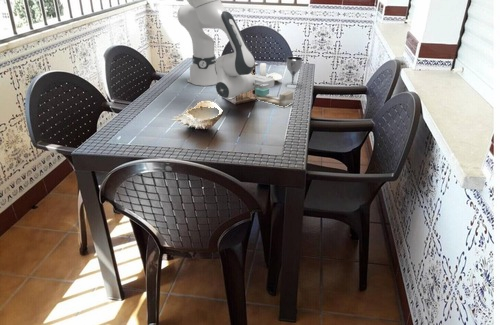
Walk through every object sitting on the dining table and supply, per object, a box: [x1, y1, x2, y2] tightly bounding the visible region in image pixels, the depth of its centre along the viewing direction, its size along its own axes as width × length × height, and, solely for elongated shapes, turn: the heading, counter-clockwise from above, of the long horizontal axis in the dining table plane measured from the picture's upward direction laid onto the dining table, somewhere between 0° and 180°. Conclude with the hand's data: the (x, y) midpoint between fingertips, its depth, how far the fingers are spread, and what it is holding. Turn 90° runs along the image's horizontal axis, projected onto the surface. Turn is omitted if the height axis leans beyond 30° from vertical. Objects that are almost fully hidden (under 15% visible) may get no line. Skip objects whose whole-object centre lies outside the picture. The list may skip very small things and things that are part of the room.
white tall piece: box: [255, 62, 270, 96], centre depth 191 cm, size 5×5×14 cm
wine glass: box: [286, 55, 303, 85], centre depth 212 cm, size 8×8×15 cm
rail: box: [255, 87, 295, 107], centre depth 192 cm, size 22×7×6 cm, turn 52°
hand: (263, 76), depth 191 cm, fingers open, 8 cm apart
